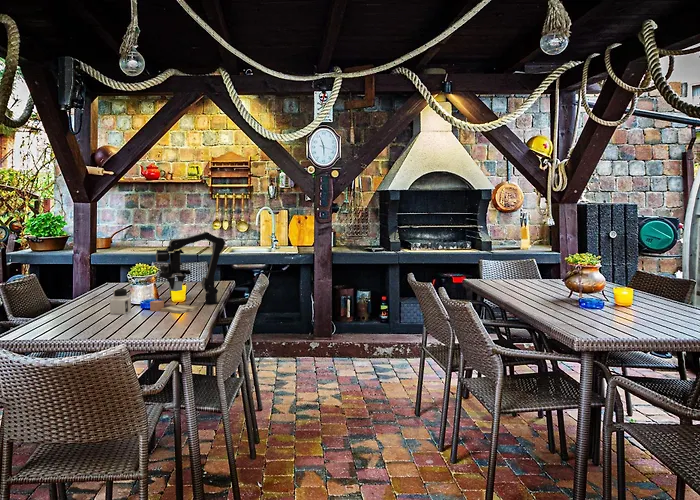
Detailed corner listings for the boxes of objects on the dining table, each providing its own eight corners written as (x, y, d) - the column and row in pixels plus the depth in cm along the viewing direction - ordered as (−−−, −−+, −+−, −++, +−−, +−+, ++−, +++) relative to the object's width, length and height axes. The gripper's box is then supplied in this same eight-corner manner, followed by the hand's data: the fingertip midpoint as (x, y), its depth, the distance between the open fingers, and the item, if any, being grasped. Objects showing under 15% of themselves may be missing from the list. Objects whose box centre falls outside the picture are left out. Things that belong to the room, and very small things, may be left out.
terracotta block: (157, 309, 304) (157, 300, 304) (163, 310, 302) (163, 301, 301) (150, 310, 300) (150, 301, 299) (156, 311, 297) (156, 302, 297)
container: (131, 311, 296) (130, 288, 295) (123, 314, 288) (123, 290, 287) (117, 311, 297) (116, 287, 296) (110, 314, 289) (109, 289, 288)
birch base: (180, 307, 310) (180, 304, 310) (198, 309, 304) (198, 306, 303) (161, 311, 298) (160, 308, 298) (179, 313, 291) (179, 310, 291)
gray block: (175, 289, 315) (175, 280, 315) (182, 290, 313) (182, 281, 313) (169, 290, 311) (169, 281, 311) (175, 291, 309) (175, 282, 308)
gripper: (177, 259, 323) (177, 285, 324) (152, 262, 306) (152, 289, 308) (191, 260, 318) (191, 286, 319) (166, 263, 301) (167, 291, 302)
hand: (175, 288), depth 312 cm, fingers closed on gray block, 5 cm apart
